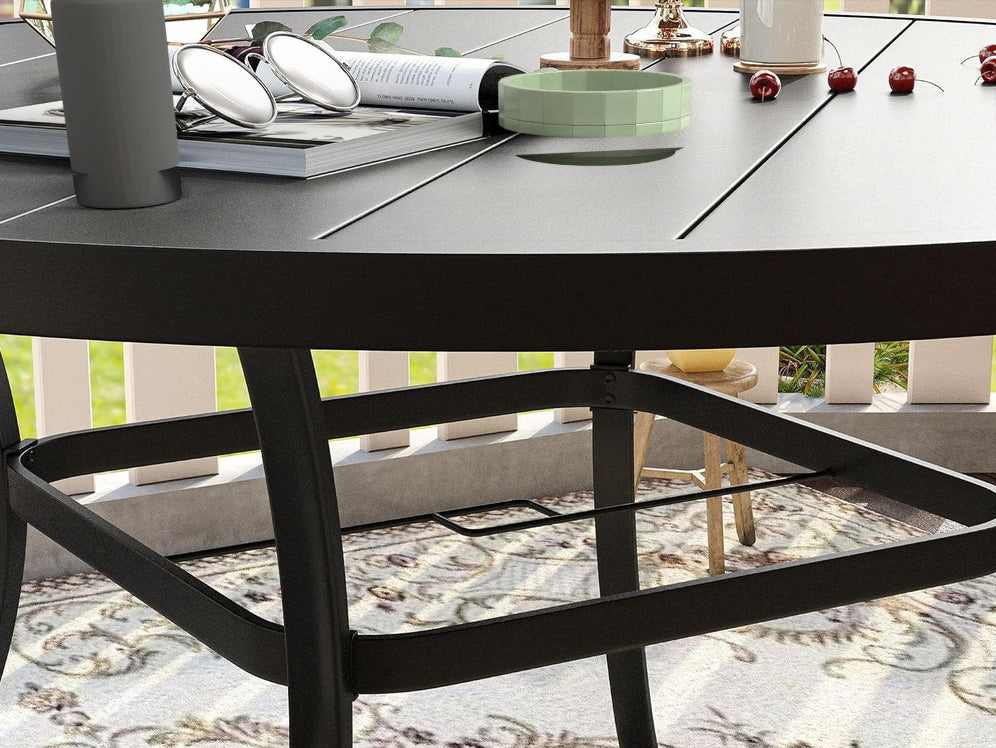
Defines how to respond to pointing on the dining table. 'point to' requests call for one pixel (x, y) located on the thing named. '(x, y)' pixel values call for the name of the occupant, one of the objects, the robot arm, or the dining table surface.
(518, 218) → the dining table surface
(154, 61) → the bottle
